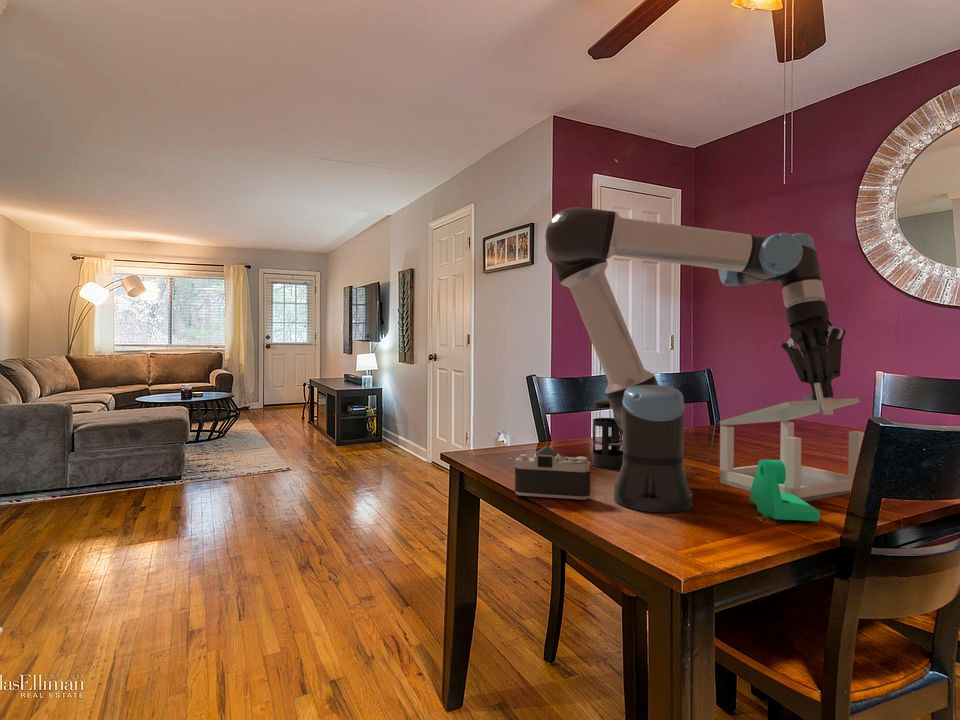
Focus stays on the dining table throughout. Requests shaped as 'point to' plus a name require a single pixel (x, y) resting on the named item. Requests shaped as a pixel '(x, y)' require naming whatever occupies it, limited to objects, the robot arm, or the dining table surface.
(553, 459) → the camera
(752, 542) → the dining table surface
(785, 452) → the frame
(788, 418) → the lid
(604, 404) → the french press
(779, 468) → the camera mount
